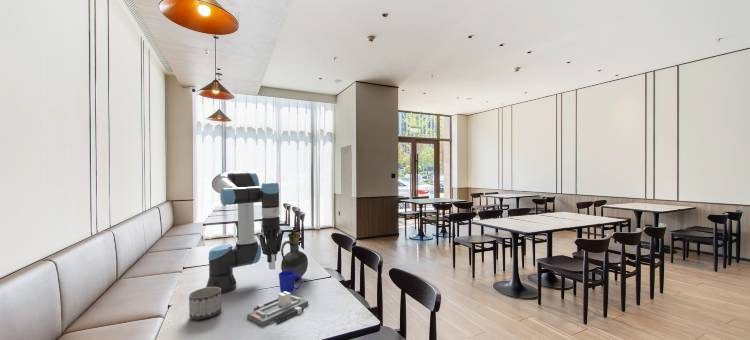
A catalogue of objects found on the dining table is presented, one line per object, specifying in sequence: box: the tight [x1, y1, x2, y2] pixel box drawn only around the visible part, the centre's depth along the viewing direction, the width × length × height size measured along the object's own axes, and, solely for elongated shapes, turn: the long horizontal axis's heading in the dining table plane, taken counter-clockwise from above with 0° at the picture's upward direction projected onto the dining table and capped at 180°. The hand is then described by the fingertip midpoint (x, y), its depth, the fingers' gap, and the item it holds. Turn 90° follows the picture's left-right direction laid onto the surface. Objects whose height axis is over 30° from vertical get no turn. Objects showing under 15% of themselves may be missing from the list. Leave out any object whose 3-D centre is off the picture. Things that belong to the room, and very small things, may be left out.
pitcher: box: [280, 229, 309, 283], centre depth 176 cm, size 11×19×30 cm, turn 157°
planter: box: [188, 286, 223, 321], centre depth 136 cm, size 13×13×10 cm
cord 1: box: [253, 298, 278, 311], centre depth 143 cm, size 3×14×2 cm, turn 143°
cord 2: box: [275, 306, 304, 324], centre depth 132 cm, size 3×14×2 cm, turn 143°
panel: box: [246, 294, 309, 327], centre depth 138 cm, size 12×24×3 cm, turn 143°
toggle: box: [277, 291, 292, 306], centre depth 140 cm, size 4×4×5 cm
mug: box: [278, 271, 302, 293], centre depth 160 cm, size 8×12×10 cm
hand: (272, 268), depth 136 cm, fingers closed
